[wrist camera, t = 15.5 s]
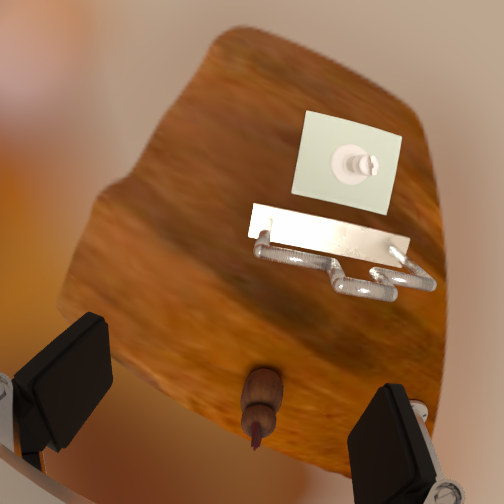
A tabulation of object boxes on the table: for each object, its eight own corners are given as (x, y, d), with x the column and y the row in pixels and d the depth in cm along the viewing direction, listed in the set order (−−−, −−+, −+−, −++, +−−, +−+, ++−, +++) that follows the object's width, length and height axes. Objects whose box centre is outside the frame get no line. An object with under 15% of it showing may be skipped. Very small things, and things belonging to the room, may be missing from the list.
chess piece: (367, 142, 30) (398, 136, 21) (371, 184, 32) (403, 193, 22) (327, 145, 31) (344, 137, 22) (331, 186, 33) (350, 196, 23)
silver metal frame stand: (398, 264, 35) (459, 330, 19) (249, 234, 36) (221, 292, 20) (406, 236, 34) (478, 288, 18) (255, 202, 35) (230, 237, 19)
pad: (384, 214, 33) (386, 215, 33) (291, 192, 34) (291, 193, 33) (399, 137, 30) (401, 136, 30) (306, 111, 31) (306, 110, 30)
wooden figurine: (250, 357, 42) (236, 435, 27) (288, 366, 41) (286, 445, 27) (241, 387, 44) (225, 461, 30) (275, 395, 44) (269, 470, 29)
